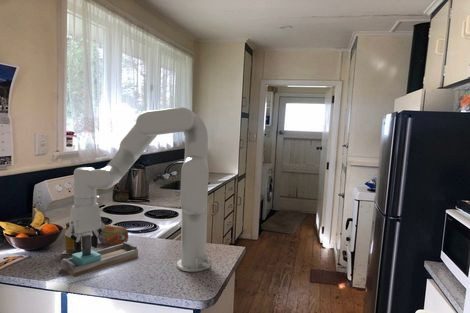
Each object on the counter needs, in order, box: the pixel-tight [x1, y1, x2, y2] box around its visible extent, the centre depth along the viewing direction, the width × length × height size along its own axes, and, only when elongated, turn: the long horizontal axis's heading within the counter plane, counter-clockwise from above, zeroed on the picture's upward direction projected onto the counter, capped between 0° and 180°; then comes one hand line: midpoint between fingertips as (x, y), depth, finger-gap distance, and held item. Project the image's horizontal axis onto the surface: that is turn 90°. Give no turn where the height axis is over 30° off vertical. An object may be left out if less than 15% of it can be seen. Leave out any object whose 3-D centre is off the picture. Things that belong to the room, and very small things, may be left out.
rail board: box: [60, 241, 139, 278], centre depth 136 cm, size 10×26×4 cm, turn 140°
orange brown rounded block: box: [98, 224, 129, 246], centre depth 156 cm, size 15×3×8 cm, turn 70°
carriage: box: [71, 234, 101, 266], centre depth 131 cm, size 8×7×10 cm
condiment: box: [61, 221, 82, 255], centre depth 147 cm, size 7×8×12 cm
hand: (86, 248), depth 131 cm, fingers open, 5 cm apart
